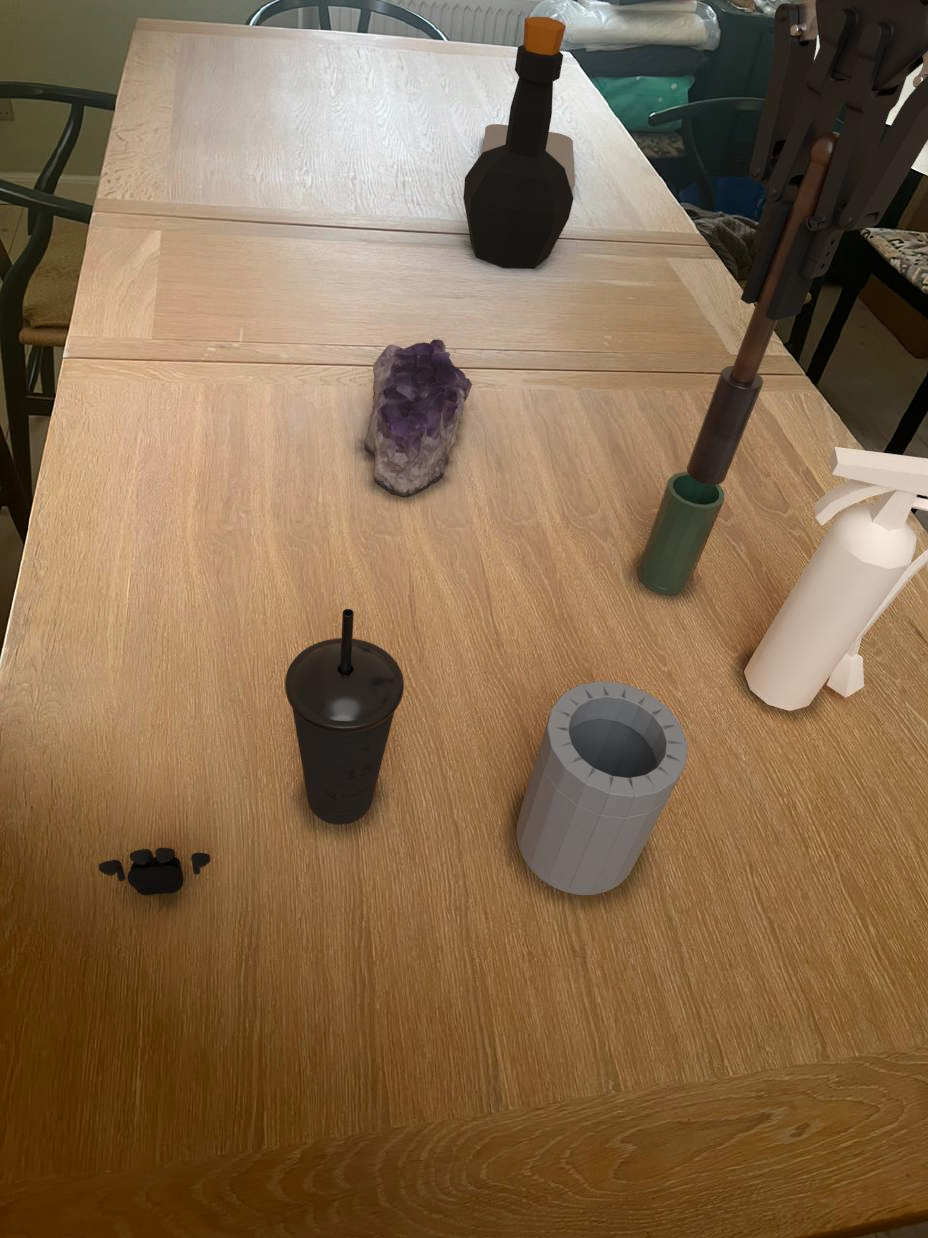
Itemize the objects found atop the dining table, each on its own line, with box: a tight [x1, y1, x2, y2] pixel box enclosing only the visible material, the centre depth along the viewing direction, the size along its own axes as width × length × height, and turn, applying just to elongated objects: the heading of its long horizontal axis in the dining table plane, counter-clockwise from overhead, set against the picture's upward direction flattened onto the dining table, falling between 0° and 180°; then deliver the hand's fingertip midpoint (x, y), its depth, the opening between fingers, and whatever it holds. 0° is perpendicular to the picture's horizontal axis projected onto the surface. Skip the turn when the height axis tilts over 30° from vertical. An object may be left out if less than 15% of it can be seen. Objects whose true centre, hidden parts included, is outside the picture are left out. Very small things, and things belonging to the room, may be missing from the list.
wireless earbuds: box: [98, 847, 211, 896], centre depth 60 cm, size 7×2×5 cm, turn 100°
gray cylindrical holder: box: [515, 680, 689, 896], centre depth 65 cm, size 9×9×13 cm
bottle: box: [462, 16, 575, 269], centre depth 128 cm, size 16×16×30 cm
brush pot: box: [636, 471, 725, 596], centre depth 87 cm, size 5×5×11 cm
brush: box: [686, 131, 840, 485], centre depth 66 cm, size 3×3×26 cm
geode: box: [364, 338, 473, 498], centre depth 98 cm, size 20×12×10 cm, turn 178°
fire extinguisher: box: [743, 446, 928, 712], centre depth 74 cm, size 7×12×25 cm, turn 79°
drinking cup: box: [284, 608, 405, 825], centre depth 62 cm, size 8×8×20 cm
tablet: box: [481, 123, 576, 190], centre depth 162 cm, size 16×26×2 cm, turn 176°
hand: (769, 305), depth 65 cm, fingers closed on brush, 2 cm apart
